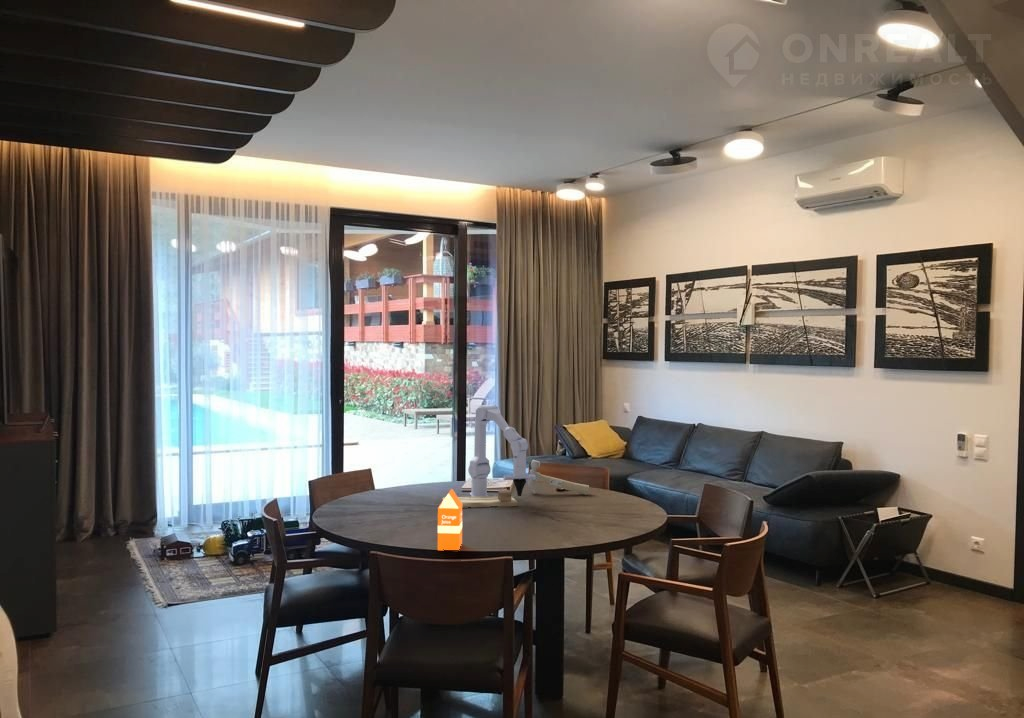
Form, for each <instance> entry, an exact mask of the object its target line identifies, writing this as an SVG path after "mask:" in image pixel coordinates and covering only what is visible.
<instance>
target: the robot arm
mask: <svg viewBox="0 0 1024 718" xmlns="http://www.w3.org/2000/svg"><path fill="white" fill-rule="evenodd" d="M491 421H492V422H494V423H495V424H496V425H497V426H498V427H499V429H501V430H502V431H503V437H504V438H505V440H507V441H508V443H509V444H510V449H511V451H512V456H513V461H512V462H513V464H512V466H513V467H512V468H513V469H512V470H513V472H512V474H506V475H505V474H504V475H503V481H513V484H514V486H515V489H516V495H517V496H518V497H522V495H523V490H524V487H525V485H526V483H527V479H533V480H535V479H536V475H529V474H527V469H526V468H527V451H528V450H529V447H530V444H529V441H528V440H527V438H523V437H522V436H521V435H520V434H519V433H518V431H516V428H515V427H513V426H510V425H509V424H508V423H507V421H506V420H505V418H504V417H503V415H502V414H501V410H500V409H499V407H498V406H497V405H495V404H494V405H479V406H478V407H477V408H476V409H475V419H474V447H473V448H474V449H473V450H474V451H473V453H474V454H473V455H474V457H473V458H471V460H469V466H468V469H467V470H468V474H469V476H470V478H471V484H470V485H471V492H469V495H470V497H472V496H490V495H489V494H488V492H487V491H488V479H487V478H488V477H489V474H491V470H492V469H491V464H490V460H489V459H488V458H487V455H486V454H487V453H486V452H487V424H489V423H490V422H491Z"/></svg>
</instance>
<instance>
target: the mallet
mask: <svg viewBox="0 0 1024 718" xmlns="http://www.w3.org/2000/svg"><path fill="white" fill-rule="evenodd" d="M497 493H498V495H497V496H498V499H499V500H500V501H511V496H512V491H511V490H510V489H506V490H505V489H502V488H501V489H499V490H498V491H497Z"/></svg>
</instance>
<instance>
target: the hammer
mask: <svg viewBox="0 0 1024 718" xmlns="http://www.w3.org/2000/svg"><path fill="white" fill-rule="evenodd" d="M540 465H541V461H540V460H535V459H532V461H531V463H530V467H531V469H529V472H528V475H536V479H535V480H533V479H526V483H527V485H528V489H529V490H530V492H531V493H532V494H533V495H535V494H536V491H535V490H534V482H536V483H538V482H540V483H545V484H547V485H550V486H554V487H557V488H560V489H563V490H566V491H571V492H575V493H578V494H581V495H583V496H584V495H585V496H587V495H588V493H589V490H590V485H588V484H582V483H578V482H573V481H568V480H565V479H562V478H558V477H557V478H556V477H553V476H549V475H545V474H541V473H540V472H537V469H540V467H541V466H540Z"/></svg>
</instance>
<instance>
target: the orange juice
mask: <svg viewBox="0 0 1024 718" xmlns="http://www.w3.org/2000/svg"><path fill="white" fill-rule="evenodd" d="M444 497H445V499H444V500H443V502H441V503H440V504H439V506H438V507H437V551H444V550H459V549H460V550H461V548H460V546H461V547H462V545H463V508H462V505H463V504H462V503H461V501H460V500H459V498H458V497H459V496H457V494H456V492H455V491H454V489H453V488H451V489H450V491H448V493H447V495H446V496H444ZM461 544H462V545H461ZM443 549H444V550H443ZM460 550H459V551H460Z"/></svg>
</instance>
